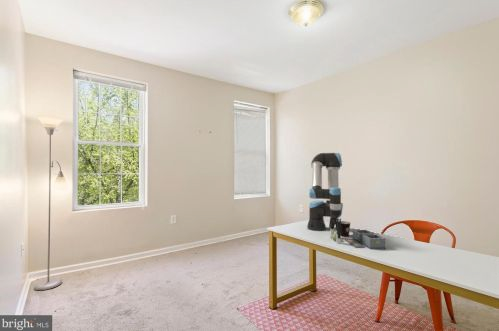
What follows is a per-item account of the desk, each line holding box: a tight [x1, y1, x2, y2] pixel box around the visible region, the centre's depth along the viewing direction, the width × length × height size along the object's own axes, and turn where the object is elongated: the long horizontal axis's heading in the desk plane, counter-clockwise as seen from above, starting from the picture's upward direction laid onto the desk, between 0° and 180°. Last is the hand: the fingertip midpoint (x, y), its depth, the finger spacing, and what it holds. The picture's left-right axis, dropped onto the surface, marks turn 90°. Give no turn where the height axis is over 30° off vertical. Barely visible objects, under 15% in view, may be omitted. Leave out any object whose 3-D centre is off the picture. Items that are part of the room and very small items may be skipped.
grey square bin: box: [352, 229, 375, 244], centre depth 179 cm, size 10×10×6 cm
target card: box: [344, 238, 366, 249], centre depth 172 cm, size 16×6×1 cm, turn 3°
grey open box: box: [361, 233, 386, 250], centre depth 167 cm, size 10×10×6 cm
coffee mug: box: [334, 220, 351, 238], centre depth 192 cm, size 12×9×10 cm
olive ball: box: [331, 232, 337, 242], centre depth 180 cm, size 5×5×5 cm
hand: (335, 240), depth 180 cm, fingers open, 11 cm apart
